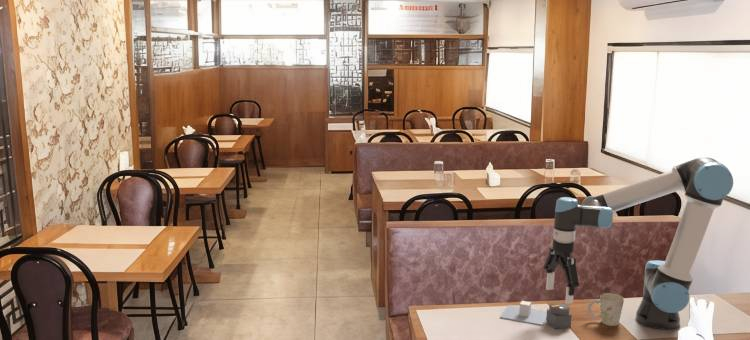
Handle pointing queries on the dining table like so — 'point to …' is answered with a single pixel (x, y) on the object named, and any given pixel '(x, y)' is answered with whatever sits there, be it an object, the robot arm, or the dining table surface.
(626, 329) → the dining table surface
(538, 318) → the shaft board
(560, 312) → the knob
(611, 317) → the mug
